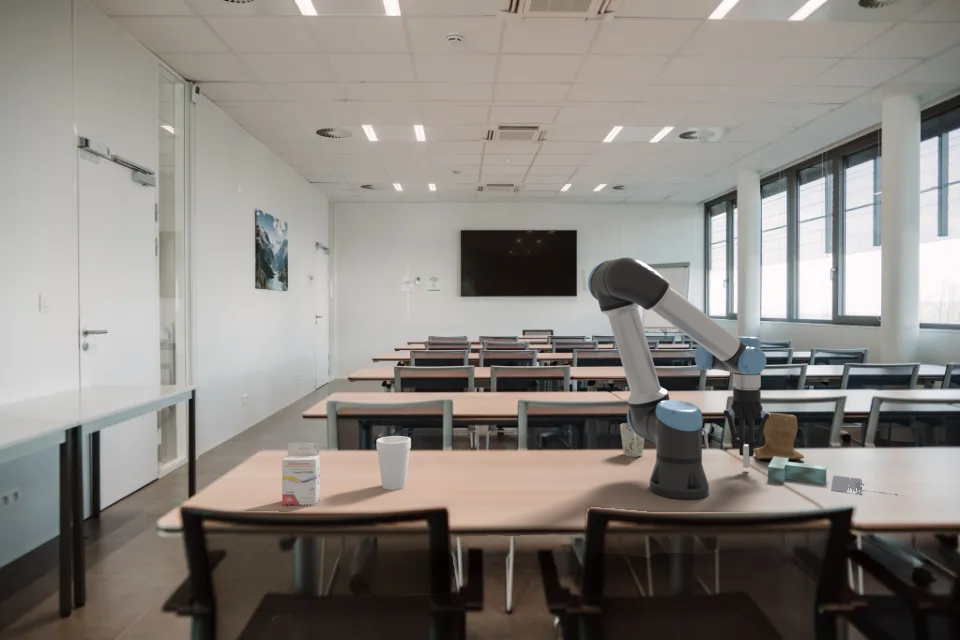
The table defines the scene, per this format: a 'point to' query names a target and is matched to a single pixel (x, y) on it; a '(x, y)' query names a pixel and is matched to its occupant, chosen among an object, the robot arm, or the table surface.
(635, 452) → the mug
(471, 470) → the table surface
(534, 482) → the table surface
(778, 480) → the t block
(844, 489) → the pad
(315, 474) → the ink cartridge box
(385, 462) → the foam cup
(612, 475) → the table surface
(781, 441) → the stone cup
